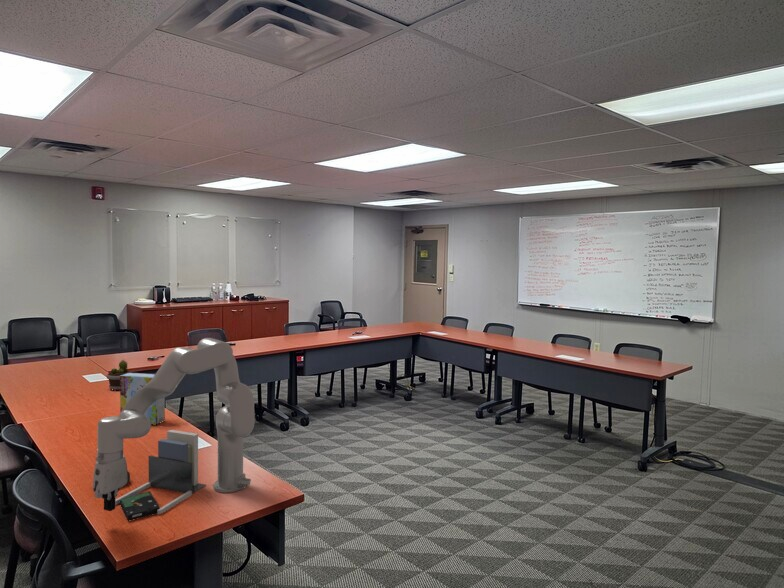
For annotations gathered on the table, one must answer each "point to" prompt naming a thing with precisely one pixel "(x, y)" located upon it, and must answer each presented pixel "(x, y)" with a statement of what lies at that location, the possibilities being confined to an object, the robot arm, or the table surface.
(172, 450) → the book row
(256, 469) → the table surface
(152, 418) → the snack box
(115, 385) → the flowerpot
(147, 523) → the table surface
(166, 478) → the bookend
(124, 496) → the rails
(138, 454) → the table surface
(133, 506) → the disk drive
